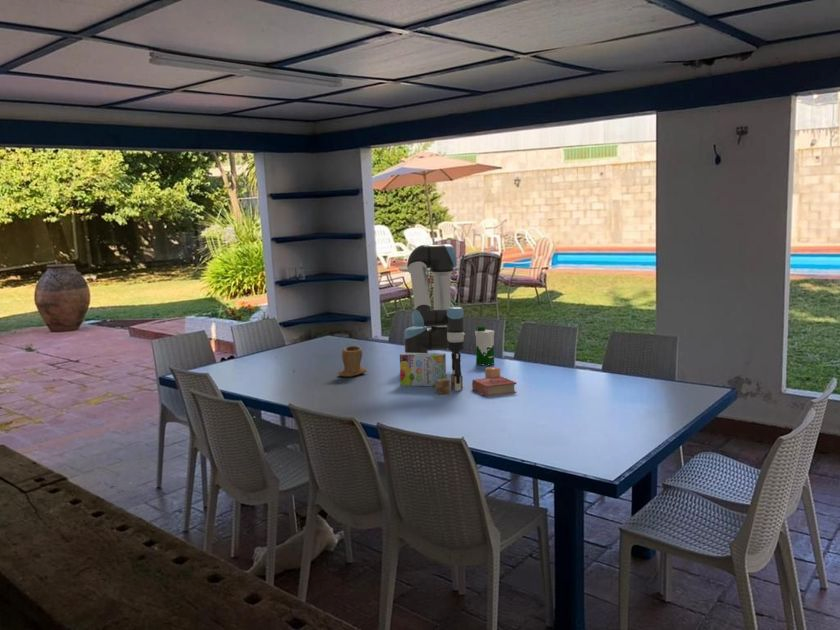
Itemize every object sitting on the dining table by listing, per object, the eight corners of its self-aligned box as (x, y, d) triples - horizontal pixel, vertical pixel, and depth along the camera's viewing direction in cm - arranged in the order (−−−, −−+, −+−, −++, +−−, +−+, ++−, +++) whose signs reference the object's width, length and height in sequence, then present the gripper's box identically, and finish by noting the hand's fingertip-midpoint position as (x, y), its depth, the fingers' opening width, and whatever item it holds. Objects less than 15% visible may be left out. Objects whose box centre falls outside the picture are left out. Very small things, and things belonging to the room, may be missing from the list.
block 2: (451, 389, 330) (451, 376, 329) (450, 386, 335) (450, 374, 334) (462, 388, 330) (462, 375, 329) (461, 386, 335) (461, 373, 334)
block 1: (439, 395, 319) (439, 381, 318) (435, 392, 324) (435, 379, 323) (450, 393, 321) (449, 380, 320) (446, 391, 325) (446, 378, 325)
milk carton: (482, 362, 392) (481, 325, 389) (496, 363, 386) (496, 326, 384) (473, 364, 385) (473, 327, 382) (488, 366, 379) (487, 328, 377)
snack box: (446, 384, 340) (446, 352, 338) (443, 387, 334) (443, 355, 332) (403, 383, 345) (402, 351, 343) (400, 385, 340) (399, 354, 338)
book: (471, 390, 327) (471, 379, 326) (501, 387, 332) (501, 376, 332) (485, 397, 314) (485, 386, 313) (516, 393, 319) (516, 382, 318)
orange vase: (350, 379, 357) (349, 349, 355) (334, 376, 365) (333, 347, 363) (372, 374, 368) (371, 345, 366) (357, 371, 376) (356, 342, 374)
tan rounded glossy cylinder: (486, 387, 331) (486, 370, 330) (484, 384, 338) (484, 367, 337) (501, 386, 332) (501, 369, 331) (499, 383, 338) (499, 366, 337)
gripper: (466, 345, 318) (467, 392, 320) (461, 336, 342) (462, 381, 344) (449, 345, 317) (450, 393, 320) (445, 337, 342) (446, 381, 344)
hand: (456, 387), depth 332 cm, fingers open, 12 cm apart
